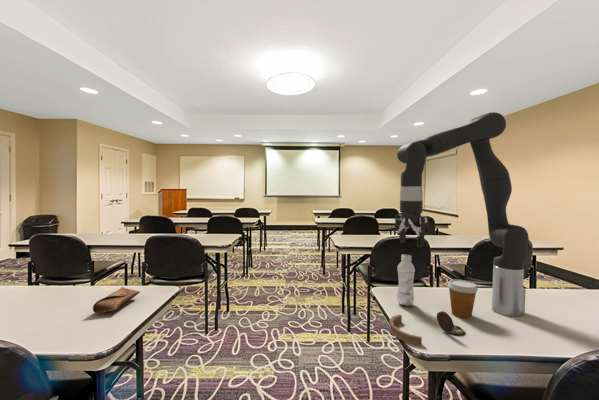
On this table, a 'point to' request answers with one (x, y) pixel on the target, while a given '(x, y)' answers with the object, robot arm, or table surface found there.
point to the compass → (448, 324)
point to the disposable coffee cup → (462, 298)
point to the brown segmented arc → (402, 335)
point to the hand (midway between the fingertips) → (411, 244)
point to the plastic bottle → (405, 281)
